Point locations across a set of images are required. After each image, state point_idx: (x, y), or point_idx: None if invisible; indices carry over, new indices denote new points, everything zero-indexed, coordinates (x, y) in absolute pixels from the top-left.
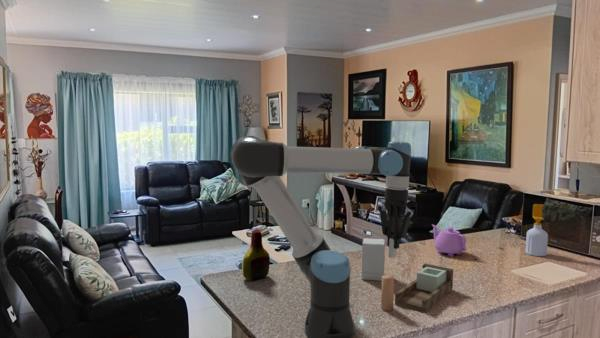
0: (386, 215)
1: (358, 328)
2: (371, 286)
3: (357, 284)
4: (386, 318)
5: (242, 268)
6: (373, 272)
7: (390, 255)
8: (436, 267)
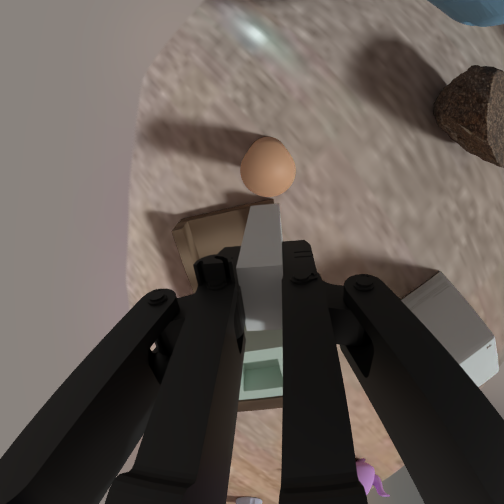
0: (429, 494)
1: (229, 2)
2: (399, 253)
3: (433, 235)
4: (222, 100)
5: None
6: (424, 301)
7: (264, 210)
8: (270, 401)
